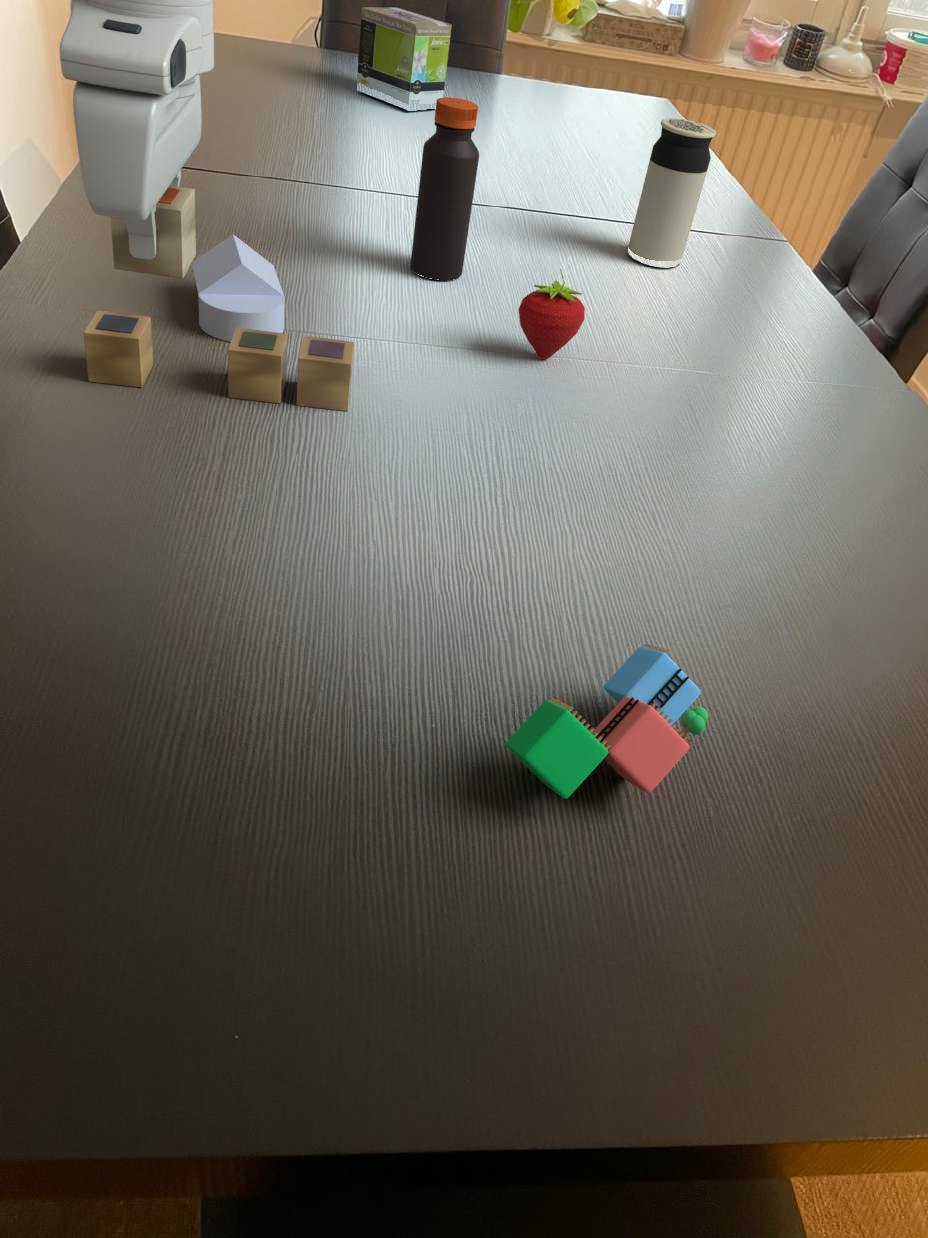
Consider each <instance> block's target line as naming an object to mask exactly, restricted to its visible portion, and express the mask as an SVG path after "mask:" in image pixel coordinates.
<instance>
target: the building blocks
mask: <svg viewBox="0 0 928 1238" xmlns="http://www.w3.org/2000/svg"><path fill="white" fill-rule="evenodd" d="M670 652H671V651H670V649H667V648H664V647H663V648H662V647H659V646H656V645H653V644H649V643H648V644H647V643H644V644H643V645H642V646H639V647H637V649H636V650H634V651H633V653H632V654H631V655H630V656H629V657H628V658H627V659H626V661H624V663H623V664H622V665H621V666H620V667H619V668H618V669H617V670H616V671H615V673H614V674H613V675H612V676H611V677H610V678H609V679H608V680H607V681H606V682H605V683H604V685H603V689H604V691H605V692H606V693H607V694H608V695H609V696H610V697H611V698H612V699H613V700H614V701H615V702H616V703H617V704H616V705H615V706H614V708H613V709H612V710H611V711H610V712H609V713H608V714H607V715H606V716H605V717H604V719H602V721H601V722H599V724H598V725H597V726H596V727H595V728H594V727H590V726H591V725H590V723H586V722H587V720H586V719H585V718H584V719H582V715H581V714H578V711H577V710H574V707H573V706H572V705H569V704H567V703H565V702H563V701H562V700H560V699H557V698H555V697H553V696H551V697H549V699H545V700H544V701H543V702H542V703H541V704H540V705H539V706H538V707H537V708H536V710H534V711H533V713H531V715H530V716H529V717H528V718H527V719H526V720H525V721H524V723H523V724H521V725H520V727H518V729H517V730H516V731H515V732H514V733H513V734H512V735H511V736H510V737H509V738H508V740H507V741H506V742H505V746H506V748H507V749H508V750H509V752H511V753H512V755H514V756H515V757H516V758H517V759H518V760H519V761H520V762H521V763H522V764H523V765H524V766H525V767H526V768H527V769H528V770H529V771H530V772H531V773H532V774H533V775H534V776H535V777H537V779H539V780H540V781H541V783H543V784H544V785H545V786H546V787H547V788H549V789H550V790H551V791H553V792H554V793H555V794H556V795H558V796H559V797H560V798H561V799H563V800H566V799H569V797H571V795H572V794H573V793H574V792H575V791H576V790H577V789H578V788H579V786H581V784H582V783H583V782H585V780H586V779H587V778H588V777H589V776H590V775H591V774H592V772H593V771H594V770H595V769H596V768H597V767H598V766H599V765H600V764H601V762H602V761H603V760H604V761H605V762H606V763H607V764H608V765H609V766H610V767H612V769H613V770H614V771H615V772H616V773H617V774H619V776H620V777H621V778H623V780H625V781H627V782H628V783H630V784H631V785H633V786H635V787H636V788H638V789H639V790H641V791H642V792H644V793H646V794H650V793H651V792H652V791H654V789H656V787H657V786H658V785H659V784H660V783H661V782H662V781H663V779H664V778H665V777H666V776H667V775H668V774H669V773H670V772H671V771H672V770H673V769H674V767H675V766H676V765H677V764H678V763H679V762H680V761H681V759H682V758H683V757H684V756H685V755H687V753H688V751H689V750H690V749H691V746H690V744H691V743H692V742H693V740H692V739H689V736H687V735H688V733H690V734H692V735H696V736H697V735H700V734H702V733H703V732H704V731H706V723H707V722H708V720H709V713H708V710H706V709H705V707H702V706H695V707H693V708H692V709H689V707H691V706H692V704H693V703H694V702H695V701H696V700H697V699H698V698H699V696H700V695H701V693H702V691H701V690H702V689H703V688H704V686H703V685H702V684H699V683H696V682H693V680H692V679H690V677H689V676H688V675H687V674H686V673H685V672H684V671H683V670H682V668H680V667H679V666H678V665H677V663H676V662H675V661H674V660H673V659H672V658H671V657H670V656H669V655H668V654H669V653H670ZM573 710H574V711H573ZM572 711H573V712H572ZM571 712H572V713H571ZM576 715H577V717H576ZM679 718H680V722H681V725H682V727H683V728H682V730H681V728H680V727H679V726H677V724H676V722H677V721H678V720H679ZM580 719H582V720H581V721H580ZM585 723H586V725H584V724H585ZM675 727H676V729H674V728H675ZM588 728H590V729H588Z"/></svg>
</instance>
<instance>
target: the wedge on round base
mask: <svg viewBox="0 0 928 1238" xmlns="http://www.w3.org/2000/svg"><path fill="white" fill-rule="evenodd" d="M191 265H192V270H193V275H194V280H195V284H196V285H195V286H196V290H197V294H198V296H197V297H198V325H199V327H200V329H201V330H202V331H203V332H204V333H206V334H207V335H209V336H210V337H212V338H215V339H218V340H221V341H225V342H229V343H230V342H231V339H232V336H233V334H234V331H235V328H244V329H253V330H261V331H269V332H277V333H284V330H285V304H286V298H285V294H284V291H283V288H282V285H281V283H280V280H279V277H278V275H277V271H276V269H275V266H274V264H272V263H271V262H270V261H269V260H267V259H266V258H265V257H263V256H262V255H261V254H259V253H258V252H257V251H256V250H254V249H253V248H252V247H250V246H249V245H248V244H246V243H245V242H244V241H243V240H242V239H240V238H239V237H237V236H236V235H235V234H234V233H232V234H231V235H230V236H228V237H227V238H224V240H222V241H221V242H219V243H218V244H217V245H215V246H213V247H212V248H211V249H209V250H208V251H207V252H205V253H204V254H202V255H201V256H200V257H199V256H198V258H196V259H194V260H193V261H192V263H191Z"/></svg>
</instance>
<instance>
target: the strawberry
mask: <svg viewBox="0 0 928 1238" xmlns="http://www.w3.org/2000/svg"><path fill="white" fill-rule="evenodd" d="M559 271H560V274H561V278H562V282H563V283H562V284H560V283H559V280H557V279H555V280H554V281H553V282H552V283H551V285H539V284H534V285H533V286H534V287H535V288H538V289H536V290H534V291H532V292H530V293H528V294H527V295H525V296H524V297H523V298H522V300H521V302H520V304H519V307H518V317H519V319H518V320H519V325H520V328H521V330H522V332H523V334H524V335H525V337H526V340H527V342H528V343H529V345H530V346H531V347H532V349H533V350H534V352H535V354H536V356H537V357H538V358H539V359H541V360H548V359H550V358H552V356H553V355H555V354H556V353H557V352H558V351H559V350H561V349H562V348H563V347H565V346H566V345H567V344H568V343H569V341H571V340H572V339H573V338H574V337H575V336H576V335H577V334H578V332H579V331H580V329H581V326H582V325H583V323H584V321H585V318H586V316H585V315H586V313H585V312H586V309H585V305H584V304H583V302H582V301H581V300H580V299H579V298H578V297H577V296H575V295H579V296H580V295H581V296H583V293H582V292H579V291H576V290H574V289H571V287H568V286H565V284H566V282H565V278H564V275H563V271H562V268H559Z"/></svg>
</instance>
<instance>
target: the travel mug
mask: <svg viewBox="0 0 928 1238" xmlns="http://www.w3.org/2000/svg"><path fill="white" fill-rule="evenodd" d="M660 126H661V132H660V137H659V138H658V139H657V140H656V141H655V143H654V144H653V146H652V149H651V153H650V157H649V160H648V165H647V170H646V173H645V177H644V181H643V186H642V189H641V194H640V197H639V201H638V205H637V209H636V213H635V217H634V222H633V226H632V229H631V234H630V238H629V241H628V244H627V245H628V246H627V248H628V247H629V249H630V250H631V251H632V252H633V253H634V254H636V255H638V256H640V257H643V258H645V259H649V260H655V261H676V260H679V259H681V258H682V259H683V257H684V254H685V249H686V247H687V243H688V240H689V236H690V233H691V229H692V225H693V221H694V218H695V214H696V213H697V208H698V204H699V201H700V197H701V194H702V191H703V187H704V184H705V181H706V180H705V179H706V176H707V174H708V168H709V166H710V163H711V158H712V157H711V151H710V145H711V142H712V140H713V138H714V137H715V136H716V134H717V133H716V132H717V131H716V130H715V129H714V128H713V127H711V126H709V125H707V124H705V123H701V122H697V121H694V120H690V119H685V118H677V117H667V118H664V119H662V120H661V121H660Z"/></svg>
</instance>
